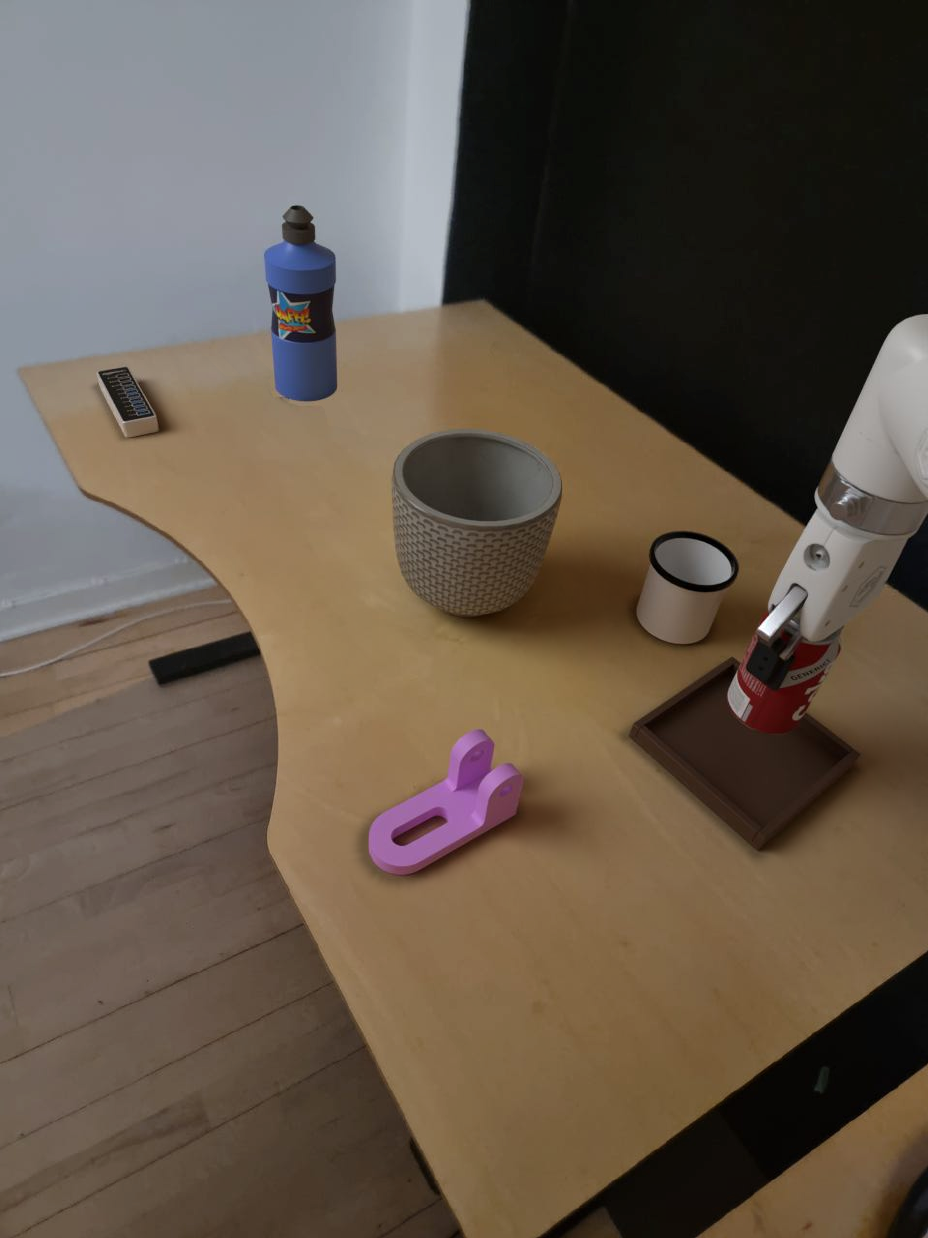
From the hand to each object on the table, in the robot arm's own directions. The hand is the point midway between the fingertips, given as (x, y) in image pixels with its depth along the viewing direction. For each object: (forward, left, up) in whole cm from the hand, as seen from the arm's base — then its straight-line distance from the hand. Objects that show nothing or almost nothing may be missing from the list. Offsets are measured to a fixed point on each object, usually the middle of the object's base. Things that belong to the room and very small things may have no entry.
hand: (788, 659), depth 73 cm
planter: (+33, +8, -13) cm, 37 cm away
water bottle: (+81, -1, -13) cm, 82 cm away
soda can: (0, 0, -7) cm, 7 cm away
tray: (0, 0, -13) cm, 13 cm away
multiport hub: (+88, +23, -13) cm, 92 cm away
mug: (+16, -10, -13) cm, 23 cm away
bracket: (+11, +29, -13) cm, 34 cm away
